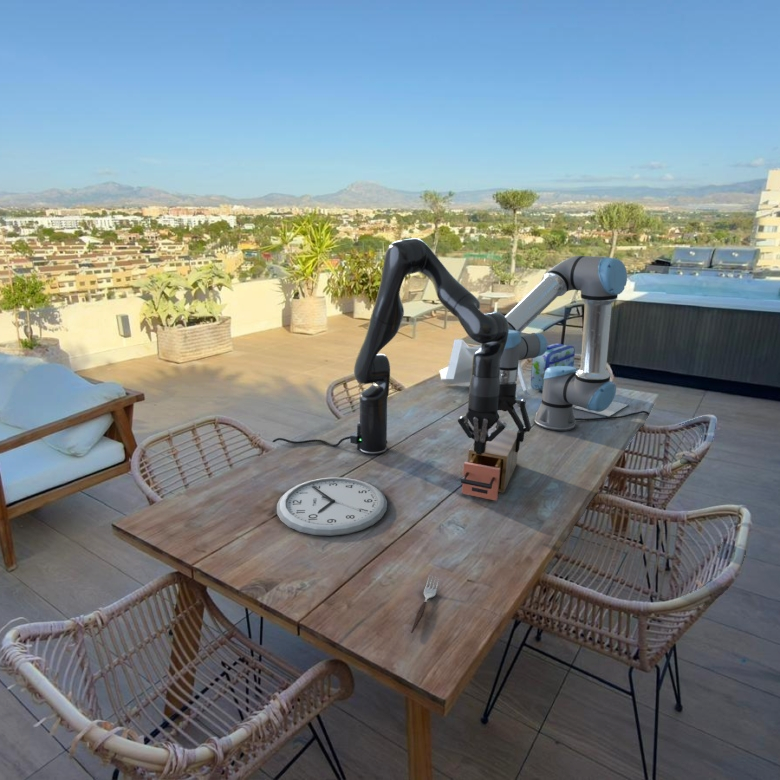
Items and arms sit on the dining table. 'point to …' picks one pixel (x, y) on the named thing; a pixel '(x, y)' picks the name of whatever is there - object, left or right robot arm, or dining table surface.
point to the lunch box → (550, 362)
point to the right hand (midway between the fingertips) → (498, 447)
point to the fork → (428, 594)
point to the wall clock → (331, 506)
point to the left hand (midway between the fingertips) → (479, 453)
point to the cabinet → (501, 453)
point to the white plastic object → (467, 365)
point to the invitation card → (607, 409)
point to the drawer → (482, 477)
